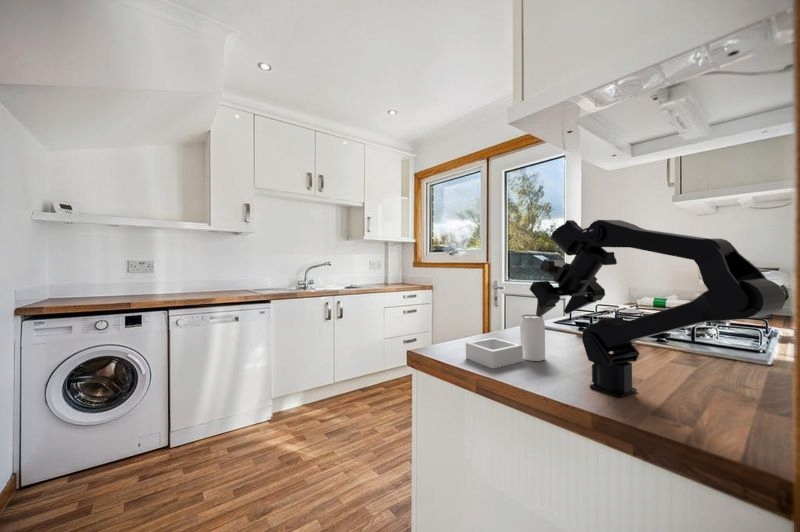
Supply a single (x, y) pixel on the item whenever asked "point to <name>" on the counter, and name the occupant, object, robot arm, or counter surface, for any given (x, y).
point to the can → (532, 337)
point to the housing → (494, 352)
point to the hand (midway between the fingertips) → (551, 314)
